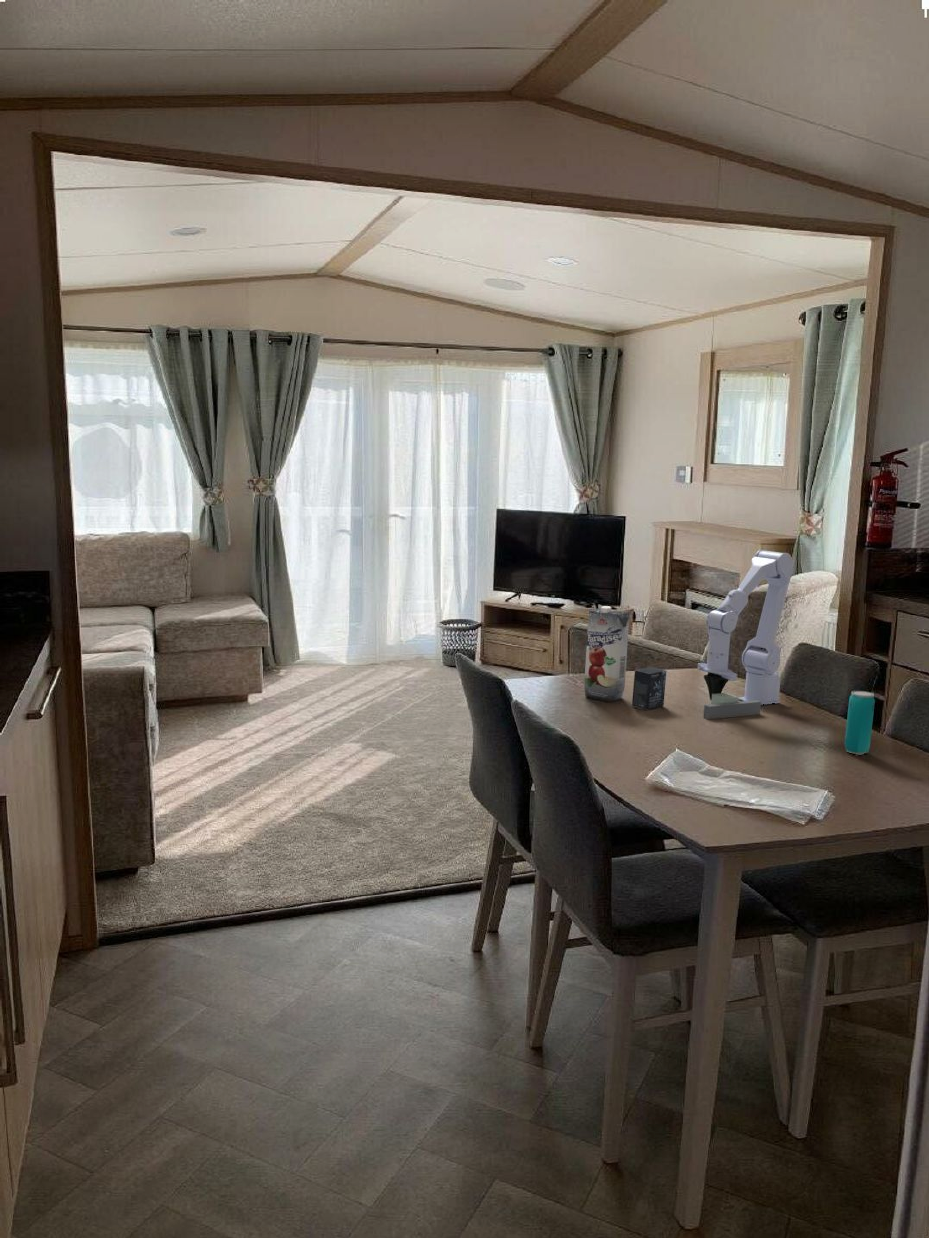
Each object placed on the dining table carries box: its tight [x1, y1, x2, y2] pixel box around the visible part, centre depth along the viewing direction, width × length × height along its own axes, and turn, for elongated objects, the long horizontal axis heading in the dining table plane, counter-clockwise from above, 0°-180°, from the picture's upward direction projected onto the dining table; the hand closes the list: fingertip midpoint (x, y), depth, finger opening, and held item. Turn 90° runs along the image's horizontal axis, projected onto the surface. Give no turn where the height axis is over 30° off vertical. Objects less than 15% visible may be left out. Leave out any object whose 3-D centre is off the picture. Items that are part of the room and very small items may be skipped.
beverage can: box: [844, 690, 876, 754], centre depth 240 cm, size 6×6×15 cm
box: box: [631, 666, 667, 711], centre depth 278 cm, size 8×6×11 cm
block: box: [710, 692, 739, 704], centre depth 275 cm, size 5×5×5 cm
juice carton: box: [583, 605, 630, 703], centre depth 284 cm, size 9×10×27 cm
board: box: [702, 700, 762, 720], centre depth 272 cm, size 18×2×4 cm, turn 115°
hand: (714, 700), depth 279 cm, fingers closed
